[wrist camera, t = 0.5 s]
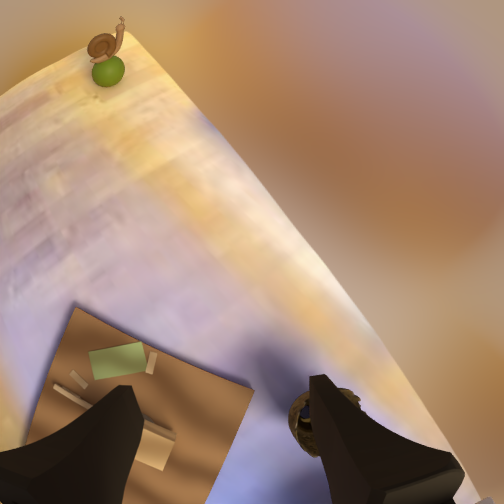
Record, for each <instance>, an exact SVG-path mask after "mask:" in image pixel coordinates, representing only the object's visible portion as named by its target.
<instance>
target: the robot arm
mask: <svg viewBox="0 0 504 504" xmlns="http://www.w3.org/2000/svg"><path fill="white" fill-rule="evenodd" d="M309 415H310V420H311V426H312V431H313V435H314V439H315V442H316V445H317V448H318V451H319V454H320V457H321V460H322V463H323V466H324V470H325V473H326V476H327V479H328V483H329V488H330V493H331V499H332V504H456V503H455V502H454V500H453V496H454V495H455V493H456V492H457V490H458V489H459V487H460V485H461V484H462V481H463V479H464V477H465V472H464V471H463V469H462V467H461V466H460V464H459V463H458V461H457V460H456V458H455V457H454V456H453V455H452V453H450V452H446V451H442V450H438V449H434V448H431V447H427V446H424V445H422V444H419V443H416V442H413V441H411V440H409V439H406V438H404V437H402V436H400V435H398V434H396V433H394V432H392V431H390V430H389V429H387V428H385V427H384V426H382V425H380V424H379V423H377V422H376V421H375V420H373V419H372V418H370V417H369V416H368V415H367V414H365V413H364V412H363V411H362V410H360V409H359V408H358V407H357V406H356V405H355V404H354V403H352V402H351V401H350V400H349V399H348V398H347V397H346V396H345V395H344V394H343V393H342V392H341V391H340V390H339V389H338V388H337V387H336V386H335V384H334V383H333V382H332V381H331V380H330V379H329V378H328V376H327V375H325V374H322V375H315V376H309ZM144 421H145V420H144V418H143V415H142V413H141V410H140V407H139V405H138V402H137V399H136V396H135V393H134V391H133V388H132V385H118V386H117V387H115V388H114V389H113V390H111V391H110V392H109V393H108V394H106V395H105V396H104V397H103V398H102V399H100V400H99V401H98V402H97V403H96V404H94V405H93V406H92V407H91V408H90V409H88V410H87V411H86V412H84V413H83V414H82V415H80V416H79V417H78V418H76V419H75V420H73V421H72V422H71V423H69V424H68V425H66V426H65V427H63V428H61V429H60V430H58V431H56V432H54V433H53V434H51V435H49V436H47V437H44V438H42V439H40V440H38V441H36V442H33V443H31V444H28V445H25V446H22V447H19V448H16V449H12V450H8V451H3V452H0V502H1V503H2V504H122V501H123V495H124V490H125V486H126V482H127V479H128V476H129V473H130V470H131V467H132V464H133V462H134V459H135V456H136V453H137V450H138V447H139V444H140V441H141V437H142V432H143V427H144ZM475 504H495V502H494V501H493V499H492V498H491V497H487V498H485V499H483V500H481V501H479V502H477V503H475Z"/></svg>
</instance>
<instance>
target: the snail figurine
mask: <svg viewBox="0 0 504 504" xmlns="http://www.w3.org/2000/svg"><path fill="white" fill-rule="evenodd" d="M119 19H121V21H123V22H124V20H125V19H124V18H123V17H120V18H119ZM124 29H125V25H124V23H123V24H122V23H121V24H118V25H117V26H116V31H117V34H116V39H115V37H114V36H113V35H111V34H106V33H104V34H100V35H98V36H96V37H94V38H93V39H92V40H91V41H90V43H89V45H88V49H87V51H88V54H89V55H90V56H91V57H94V59H91V60H90V62H92V63H95V64H94V66H93V69H92V77H93V80H94V81H95V83H97V84H98V85H100V86H102V87H110V86H113V85H115V84H117V83H118V82H119V81H120V80H121V79H122V77H123V75H124V72H125V66H124V63H123V61H122V60H121V59H120V58H119V57H117V56H114V55H115V54H116V53H117V52H118V51H119V49H120V47H121V45H122V41H123V34H124Z"/></svg>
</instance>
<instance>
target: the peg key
mask: <svg viewBox="0 0 504 504" xmlns="http://www.w3.org/2000/svg"><path fill="white" fill-rule="evenodd" d="M53 388H54V389H55V390H57V391H58V392H60V393H61V394H63V395H65V396H66V397H68V398H69V399H71V400H73V401H74V402H76V403H78V404H79V405H81V406H83V407H85V408H86V409H90V408H91V407H92V406H93V405H91V404H89V403H87V402H86V401H84V400H82V399H80V398H79V397H77V396H75V395H74V394H72V393H70V392H69V391H67V390H66V389H64V388H62V387H61V386H59V385H58V384H55V385H54V387H53ZM142 415H143V418H144V420H145V421H144V427H143V432H142V437H141V441H140V444H139V447H138V450H137V453H136V456H135V459H136V460H138V461H140V462H143V463H145V464H147V465H149V466H152V467H154V468H156V469H159V470H161V471H163V469H164V466H165V464H166V462H167V459H168V457H169V455H170V452H171V450H172V448H173V445H174V443H175V439H176V435H177V433H175V432H172V431H170V430H168V429H165V428H163V427H161V426H158V425H156V424H155V423H154V422H153V420H152V419H151V418H150V417H148V416H147V415H145V414H143V413H142Z"/></svg>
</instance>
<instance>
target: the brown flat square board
mask: <svg viewBox="0 0 504 504" xmlns="http://www.w3.org/2000/svg"><path fill="white" fill-rule="evenodd" d="M55 384H58V385H59V386H61V387H62V388H64V389H66V390H67V391H69V392H70V393H72V394H74V395H75V396H77V397H79V398H80V399H82V400H84V401H86V402H87V403H89V404H91V405H94V404H96V403H97V402H98V401H99V400H100V399H102V398H103V397H104V396H105V395H106V394H108V393H109V392H110V391H111V390H113V389H114V388H115V387H117V386H118V385H132V388H133V391H134V393H135V396H136V399H137V402H138V405H139V407H140V410H141V413H143V414H145V415H147V416H148V417H150V418H151V419H152V420H153V422H154V423H155V424H156V425H158V426H161V427H163V428H165V429H168V430H170V431H172V432H175V433H177V435H176V439H175V443H174V445H173V448H172V450H171V452H170V455H169V457H168V459H167V462H166V464H165V466H164V469H163V471H161V470H159V469H156V468H154V467H152V466H149V465H147V464H145V463H143V462H140V461H138V460H136V459H134V462H133V464H132V467H131V470H130V473H129V476H128V479H127V482H126V486H125V490H124V495H123V501H122V504H204V503H205V501H206V499H207V497H208V495H209V493H210V491H211V489H212V487H213V484H214V482H215V480H216V478H217V476H218V474H219V472H220V469H221V467H222V465H223V463H224V461H225V458H226V456H227V454H228V452H229V449H230V447H231V445H232V443H233V440H234V438H235V436H236V434H237V431H238V429H239V427H240V424H241V422H242V420H243V417H244V415H245V413H246V410H247V408H248V406H249V403H250V401H251V398H252V396H253V394H254V390H253V389H250V388H247V387H245V386H242V385H239V384H237V383H234V382H232V381H229V380H227V379H224V378H222V377H219V376H217V375H214V374H212V373H209V372H207V371H205V370H202V369H200V368H197V367H195V366H193V365H190V364H188V363H186V362H184V361H181V360H179V359H177V358H175V357H173V356H170V355H168V354H166V353H164V352H162V351H160V350H158V349H155V348H153V347H151V346H149V345H147V344H145V343H143V342H141V341H139V340H137V339H135V338H133V337H131V336H129V335H127V334H125V333H123V332H121V331H119V330H118V329H116V328H114V327H112V326H110V325H108V324H106V323H104V322H103V321H101V320H99V319H97V318H95V317H93V316H92V315H90V314H88V313H86V312H85V311H83V310H81V309H79V308H77V307H75V310H74V312H73V314H72V316H71V319H70V321H69V323H68V325H67V328H66V330H65V332H64V335H63V337H62V340H61V342H60V344H59V347H58V349H57V352H56V354H55V357H54V360H53V362H52V365H51V367H50V370H49V373H48V375H47V378H46V381H45V384H44V387H43V389H42V392H41V395H40V398H39V401H38V404H37V407H36V410H35V414H34V417H33V420H32V423H31V427H30V430H29V434H28V437H27V441H26V444H25V445H28V444H31V443H33V442H36V441H38V440H40V439H42V438H44V437H47V436H49V435H51V434H53V433H54V432H56V431H58V430H60V429H61V428H63V427H65V426H66V425H68V424H69V423H71V422H72V421H73V420H75V419H76V418H78V417H79V416H80V415H82V414H83V413H84V412H86V411H87V410H88V409H86V408H85V407H83V406H81V405H79V404H78V403H76V402H74V401H73V400H71V399H69V398H68V397H66V396H65V395H63V394H61V393H60V392H58V391H57V390H55V389H54V388H53V387H54V385H55Z"/></svg>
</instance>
